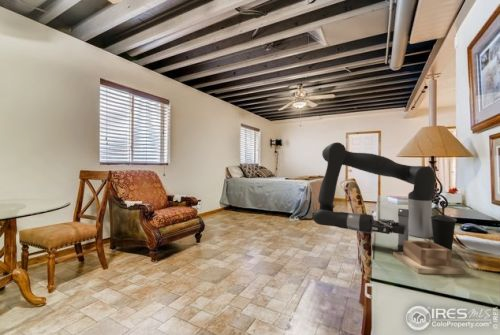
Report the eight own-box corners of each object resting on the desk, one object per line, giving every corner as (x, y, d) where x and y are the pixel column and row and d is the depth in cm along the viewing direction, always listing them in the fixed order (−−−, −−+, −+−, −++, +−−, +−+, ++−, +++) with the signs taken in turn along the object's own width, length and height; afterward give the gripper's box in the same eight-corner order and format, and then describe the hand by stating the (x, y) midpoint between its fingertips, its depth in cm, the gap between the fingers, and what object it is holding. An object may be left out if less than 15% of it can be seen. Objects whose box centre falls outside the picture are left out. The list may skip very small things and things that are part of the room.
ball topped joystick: (398, 249, 94) (398, 207, 93) (408, 251, 91) (409, 208, 91) (397, 252, 90) (397, 209, 90) (408, 254, 88) (408, 210, 88)
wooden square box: (432, 256, 87) (432, 239, 86) (464, 274, 73) (465, 253, 73) (393, 255, 87) (393, 238, 87) (418, 273, 73) (418, 252, 73)
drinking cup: (450, 259, 84) (450, 203, 84) (426, 252, 91) (426, 200, 91) (460, 255, 88) (460, 202, 87) (436, 249, 94) (436, 199, 94)
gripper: (355, 216, 95) (403, 222, 85) (364, 211, 106) (407, 215, 96) (355, 235, 95) (403, 243, 85) (364, 227, 106) (407, 234, 96)
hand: (405, 228), depth 91 cm, fingers open, 8 cm apart
